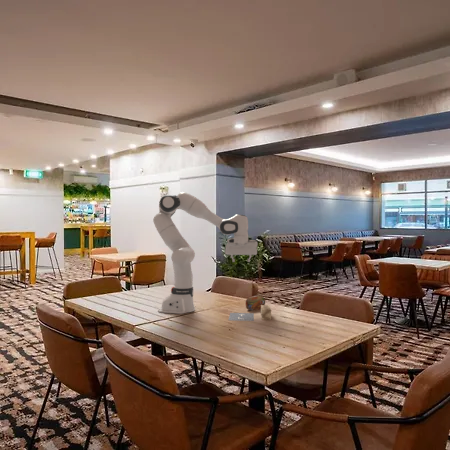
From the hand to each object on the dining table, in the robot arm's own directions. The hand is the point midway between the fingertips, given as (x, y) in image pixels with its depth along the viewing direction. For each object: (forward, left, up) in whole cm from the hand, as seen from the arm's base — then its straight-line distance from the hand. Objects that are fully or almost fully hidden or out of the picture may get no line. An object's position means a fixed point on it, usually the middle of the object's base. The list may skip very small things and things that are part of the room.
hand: (241, 261), depth 255 cm
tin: (+9, -4, -29) cm, 31 cm away
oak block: (+15, -24, -29) cm, 41 cm away
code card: (+1, -24, -29) cm, 38 cm away
